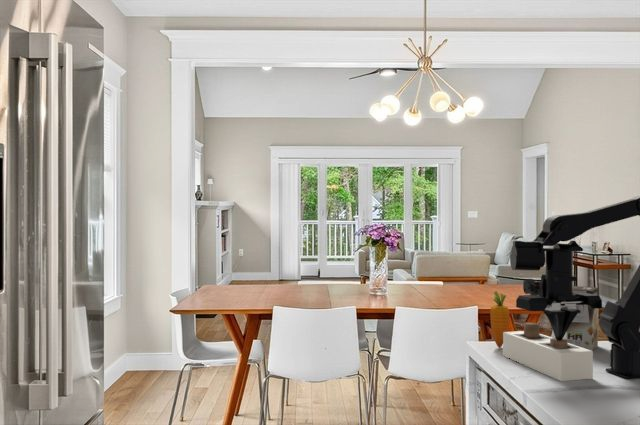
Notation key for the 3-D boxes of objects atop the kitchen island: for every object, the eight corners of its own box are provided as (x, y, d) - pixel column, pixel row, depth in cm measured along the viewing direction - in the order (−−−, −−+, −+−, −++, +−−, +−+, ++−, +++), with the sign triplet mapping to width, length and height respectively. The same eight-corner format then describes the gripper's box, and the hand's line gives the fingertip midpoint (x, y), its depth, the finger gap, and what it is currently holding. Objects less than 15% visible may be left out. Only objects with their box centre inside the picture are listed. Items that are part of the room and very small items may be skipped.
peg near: (571, 367, 124) (571, 341, 124) (557, 368, 123) (557, 341, 123) (560, 362, 128) (560, 337, 128) (546, 363, 127) (546, 338, 127)
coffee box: (592, 352, 144) (592, 290, 144) (565, 349, 148) (566, 288, 148) (598, 346, 151) (598, 287, 151) (573, 342, 155) (573, 285, 155)
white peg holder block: (592, 378, 121) (592, 351, 121) (561, 381, 119) (561, 353, 119) (530, 354, 142) (530, 330, 142) (503, 355, 140) (503, 332, 140)
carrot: (511, 349, 146) (511, 293, 146) (492, 349, 146) (493, 293, 146) (505, 345, 151) (506, 290, 151) (487, 345, 151) (487, 290, 151)
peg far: (542, 349, 134) (542, 325, 134) (529, 350, 133) (529, 325, 133) (533, 345, 137) (533, 322, 138) (520, 346, 137) (520, 322, 137)
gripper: (570, 266, 136) (570, 330, 136) (502, 268, 131) (502, 334, 131) (603, 271, 125) (603, 340, 125) (531, 273, 120) (531, 345, 120)
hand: (559, 339), depth 126 cm, fingers closed, pressing on peg near
